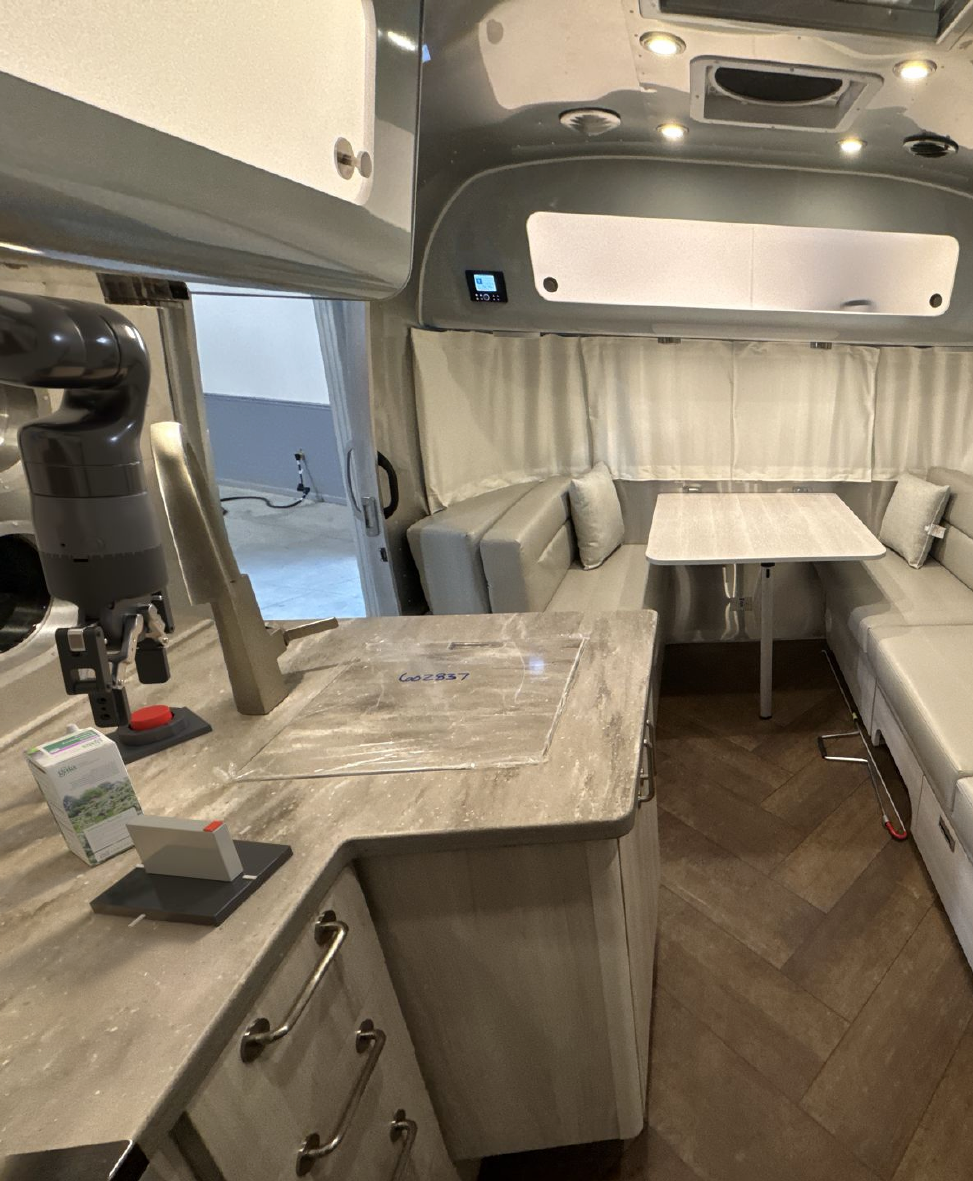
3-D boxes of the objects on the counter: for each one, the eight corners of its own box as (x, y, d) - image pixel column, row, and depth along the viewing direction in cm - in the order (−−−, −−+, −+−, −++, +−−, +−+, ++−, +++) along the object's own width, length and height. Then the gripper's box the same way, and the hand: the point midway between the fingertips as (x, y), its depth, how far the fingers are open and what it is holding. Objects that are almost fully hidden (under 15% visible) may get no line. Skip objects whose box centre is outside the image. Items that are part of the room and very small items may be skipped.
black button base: (124, 765, 88) (117, 748, 87) (101, 743, 92) (93, 726, 91) (213, 731, 96) (207, 714, 95) (187, 712, 100) (181, 696, 99)
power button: (138, 735, 91) (134, 724, 90) (126, 724, 93) (122, 714, 92) (177, 720, 94) (174, 710, 94) (165, 711, 96) (161, 701, 96)
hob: (70, 930, 65) (64, 918, 64) (199, 830, 78) (195, 820, 78) (200, 944, 64) (195, 933, 64) (308, 841, 78) (305, 831, 77)
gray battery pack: (146, 873, 70) (123, 822, 67) (160, 862, 72) (139, 812, 69) (231, 882, 70) (212, 831, 67) (244, 870, 71) (225, 820, 68)
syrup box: (132, 820, 79) (90, 723, 74) (156, 837, 77) (114, 738, 71) (69, 850, 74) (18, 749, 69) (92, 869, 72) (42, 766, 67)
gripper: (86, 520, 60) (119, 673, 65) (-14, 563, 48) (37, 747, 53) (189, 522, 63) (213, 668, 68) (120, 563, 51) (155, 737, 56)
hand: (136, 702), depth 61 cm, fingers open, 8 cm apart
